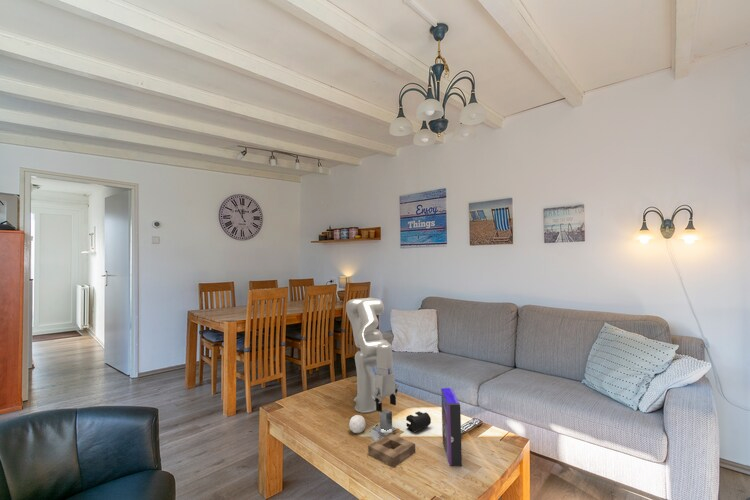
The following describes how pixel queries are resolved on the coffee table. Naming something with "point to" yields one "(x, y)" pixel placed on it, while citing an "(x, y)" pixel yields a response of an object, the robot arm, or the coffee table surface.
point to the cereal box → (451, 427)
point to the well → (391, 457)
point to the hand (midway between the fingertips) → (386, 407)
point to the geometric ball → (357, 424)
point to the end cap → (418, 421)
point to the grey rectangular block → (386, 419)
